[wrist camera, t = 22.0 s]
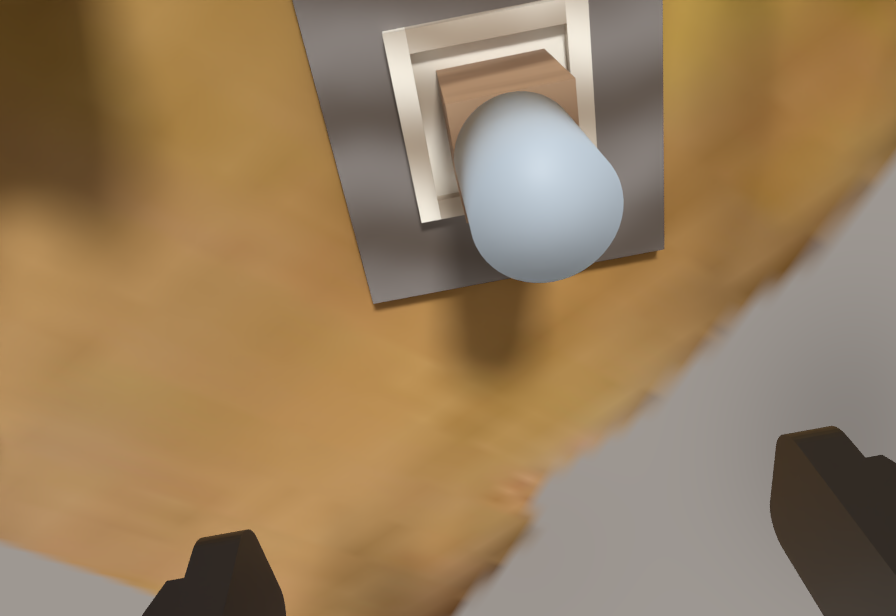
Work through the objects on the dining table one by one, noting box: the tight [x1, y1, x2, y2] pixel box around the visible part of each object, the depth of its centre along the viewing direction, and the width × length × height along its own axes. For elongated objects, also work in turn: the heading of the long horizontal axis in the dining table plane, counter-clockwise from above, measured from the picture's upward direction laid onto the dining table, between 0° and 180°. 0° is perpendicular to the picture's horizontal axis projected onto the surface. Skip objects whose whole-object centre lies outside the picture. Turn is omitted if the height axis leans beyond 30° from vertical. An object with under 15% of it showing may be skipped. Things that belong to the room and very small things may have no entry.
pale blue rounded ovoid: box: [454, 91, 624, 283], centre depth 25 cm, size 5×5×6 cm
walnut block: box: [436, 49, 579, 223], centre depth 30 cm, size 5×5×6 cm
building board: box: [293, 0, 664, 304], centre depth 33 cm, size 18×16×2 cm
